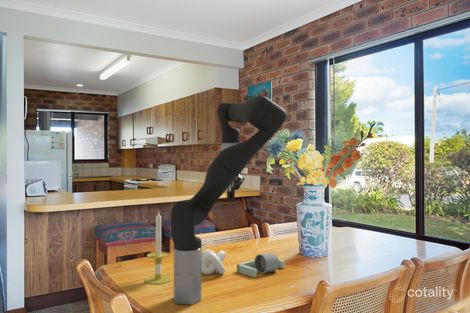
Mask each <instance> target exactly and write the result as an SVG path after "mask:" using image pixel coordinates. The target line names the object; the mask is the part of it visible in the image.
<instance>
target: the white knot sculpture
mask: <svg viewBox="0 0 470 313" xmlns="http://www.w3.org/2000/svg"><path fill="white" fill-rule="evenodd" d="M226 254H227V253H226V251H224V250H219V251H218V252H217V253H215V251H213V250H211V249H205V250H203V251H202V256H201V274H203V275H205V276H209V275H212V274H213V273H214V272H215V271H217V273H218V274H219V275H224V274H225V273H226V268H225V266H224V264H223V262H224V260H225V259H226Z"/></svg>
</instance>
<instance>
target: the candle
mask: <svg viewBox="0 0 470 313" xmlns="http://www.w3.org/2000/svg"><path fill="white" fill-rule="evenodd" d="M146 257H147V258H148V259H154V275H151V276H148V277H146V278H145V280H144V283H146V284H148V285H156V286H157V285H163V284H167V283H169V282H170V281H172V277H171V276H169V275H165V274H164V275H163V274H162V259H165V258H167V257H170V253H169V252H166V251H162V216H161V214H160V210H158V211H157V214H156V216H155V251H154V252H153V251H152V252H149V253H148V254H146Z"/></svg>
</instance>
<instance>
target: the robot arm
mask: <svg viewBox="0 0 470 313" xmlns="http://www.w3.org/2000/svg"><path fill="white" fill-rule="evenodd" d="M216 111H217V112H216V113H217V114H216V115H217V117H218V122H219V125H220V130H221V146H220V148H221V149H220V152H219V153H218V154H217V155H216V157H215V158H214V159H213V161H212V162H211V163H210V165H209V166H208V167H207V171H206V175H205V179H204V182H203V184H202V186H201V187H200V188H199V190H198V191H197V192H196V193H195V194H194V196H192V197H191V198H188V199H183V200H179V201H176V202H175V203H174V204H173V206H172V208H171V211H170V233H171V234H170V236H171V240H172V243H173V301H174V304H175V305H177V304H178V305H192V306H193V305H195V304H196V303H198V302H200V301H201V300H202V273H201V256H202V252H203V251H202V245H203V243H202V241H203V240H202V239H201V238H200V237H199V236H196V234H195V233H196V232H195V227H196V226H199V225H201V223H203V222H204V221H205V220H206V218H207V217H208V216H209V213H210V212H211V211H212V209H213V207H214V206H215V204H216V202H217V201H218V200H219V199H220V198H221V197H222V195H223V194H224V193H225V192H226V201H227V202H234V201H235V200H236V199H235V198H236V197H235V194H236V192H235V191H237V190H239V189H240V188H241V186H242V184H243V182H244V180H245V177H244V176H242V175H241V173H242V172H243V170H244V169H245V168H246V166H247V165H248V164H249V163H250V161H251V160H252V159H253V158H254V157H255V156H256V154H257V153H259V151H260V150H261V149H262V148H263V147H264V146H265V145H266V144H267V143H268V142H269V141H270V139H272V137H273V136H275V135H276V133H277V132H278V131H279V130H280V128H281V127H282V126H283V124H284V123H285V121H286V118H287V112H286V110H285V109H284V108H283V107H281V106H280V105H278V104H277V103H275V102H274V101H273V100H271V99H269V98H268V97H267V96H265V95H257V96H255V97H253V98H250V99H248V100H246V101H244V102H235V103H234V102H221V103H219V104H218V106H217V110H216ZM229 122H234V123H239V124H246V123H249V124H250V125H251V126H252V127H254V128H256V129H257V130H258V131H256V133H255V134H254V135H252V136H251V137H249V138H248V139H246V140H243V141H242V142H241V130H240V129H239V128H238V127H234V126H231V125H230V124H229Z"/></svg>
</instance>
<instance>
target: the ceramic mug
mask: <svg viewBox="0 0 470 313" xmlns="http://www.w3.org/2000/svg"><path fill="white" fill-rule="evenodd" d="M279 259H280V258H279V257H278V255H276V254H275V253H271V252H270V253H260V254H257V255H255V258H254V260H255V261H254V267H255V269H257V273H259V274H266V273H271V272H275V271H276V270H277V269H278V268H279V267H278V266H279Z"/></svg>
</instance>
